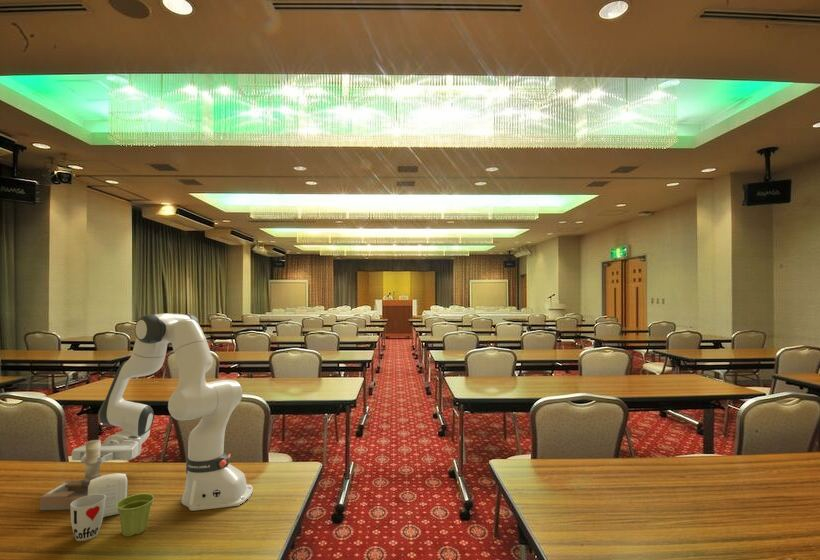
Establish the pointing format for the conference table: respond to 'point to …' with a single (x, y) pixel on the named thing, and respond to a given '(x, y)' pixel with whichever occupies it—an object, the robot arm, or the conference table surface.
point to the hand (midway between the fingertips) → (91, 460)
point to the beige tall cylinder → (91, 462)
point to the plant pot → (134, 513)
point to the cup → (87, 516)
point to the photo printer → (110, 490)
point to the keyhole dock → (63, 496)
